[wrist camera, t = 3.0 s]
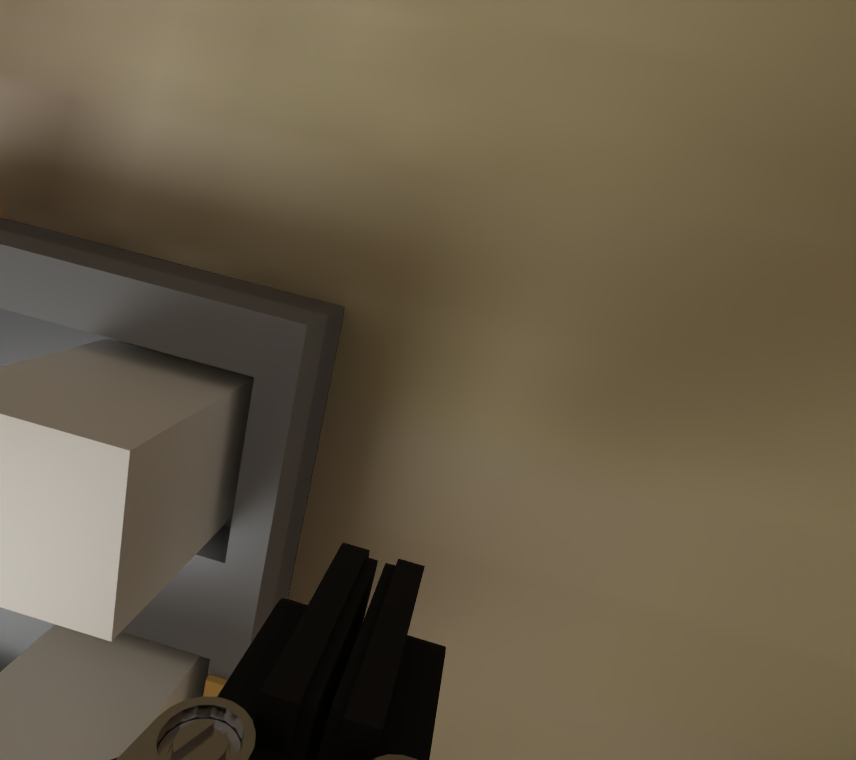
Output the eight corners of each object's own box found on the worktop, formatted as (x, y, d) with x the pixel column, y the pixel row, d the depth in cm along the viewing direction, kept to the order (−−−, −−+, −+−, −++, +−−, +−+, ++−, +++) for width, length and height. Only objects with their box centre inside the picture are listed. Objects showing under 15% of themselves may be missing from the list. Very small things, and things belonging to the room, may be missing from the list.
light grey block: (107, 337, 15) (-84, 389, 10) (254, 378, 15) (130, 450, 10) (96, 476, 16) (-81, 581, 11) (232, 516, 16) (111, 641, 11)
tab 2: (86, 597, 17) (-78, 740, 12) (213, 636, 17) (95, 797, 12) (77, 703, 18) (-77, 872, 13) (197, 741, 18) (83, 928, 13)
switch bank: (-60, 201, 16) (-191, 195, 13) (344, 307, 16) (304, 326, 13) (-59, 818, 23) (-147, 908, 20) (225, 915, 22) (180, 1024, 19)
